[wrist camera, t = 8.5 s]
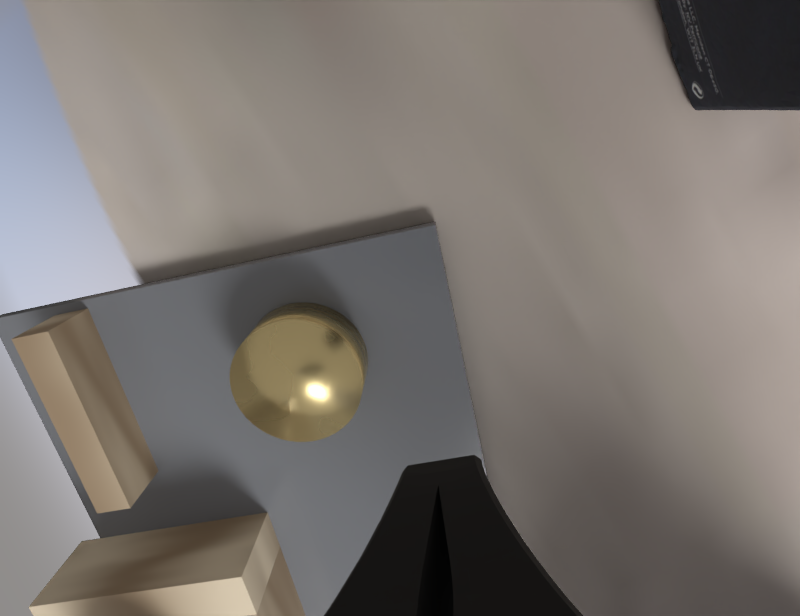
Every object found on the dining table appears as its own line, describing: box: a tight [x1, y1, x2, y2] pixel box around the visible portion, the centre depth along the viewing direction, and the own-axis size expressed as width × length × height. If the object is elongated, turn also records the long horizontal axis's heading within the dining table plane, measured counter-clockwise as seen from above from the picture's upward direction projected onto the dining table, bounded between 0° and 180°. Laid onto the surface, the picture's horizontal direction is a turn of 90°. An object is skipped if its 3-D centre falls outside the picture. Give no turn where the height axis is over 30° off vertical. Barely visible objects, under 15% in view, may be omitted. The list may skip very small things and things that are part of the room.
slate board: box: [0, 222, 488, 616], centre depth 20 cm, size 15×17×1 cm
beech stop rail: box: [12, 308, 158, 514], centre depth 18 cm, size 1×6×2 cm, turn 12°
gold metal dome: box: [230, 302, 368, 442], centre depth 17 cm, size 4×4×2 cm
